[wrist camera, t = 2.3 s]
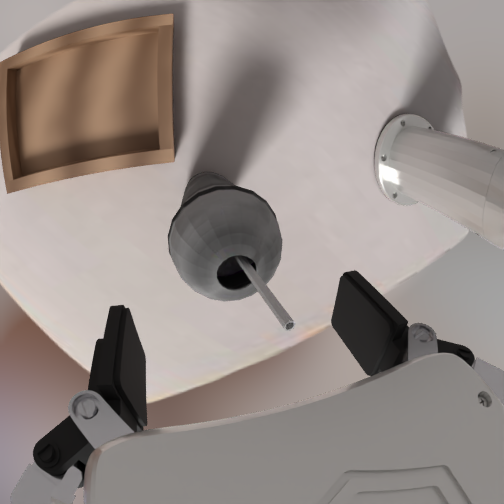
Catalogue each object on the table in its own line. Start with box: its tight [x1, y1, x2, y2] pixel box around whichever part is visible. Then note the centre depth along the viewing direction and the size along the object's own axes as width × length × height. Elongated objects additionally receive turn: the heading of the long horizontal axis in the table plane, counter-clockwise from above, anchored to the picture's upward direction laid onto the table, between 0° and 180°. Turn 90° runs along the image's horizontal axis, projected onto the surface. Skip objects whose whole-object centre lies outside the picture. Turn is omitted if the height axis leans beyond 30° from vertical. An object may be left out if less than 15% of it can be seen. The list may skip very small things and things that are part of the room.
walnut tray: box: [0, 14, 175, 194], centre depth 19 cm, size 18×14×3 cm
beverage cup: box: [168, 172, 295, 331], centre depth 19 cm, size 7×7×20 cm
